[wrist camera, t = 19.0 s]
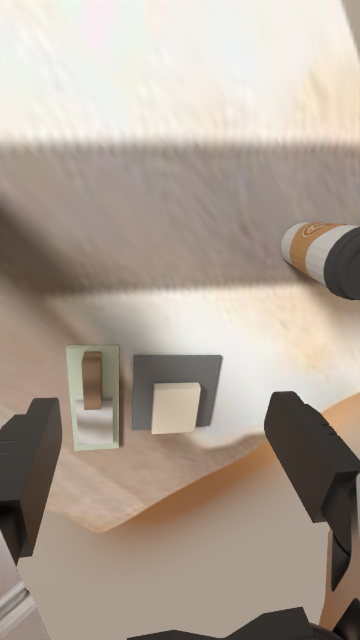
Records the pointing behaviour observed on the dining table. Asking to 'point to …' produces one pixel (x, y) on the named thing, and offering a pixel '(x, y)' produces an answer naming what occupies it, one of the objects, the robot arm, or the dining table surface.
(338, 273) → the coffee cup
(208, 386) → the mat
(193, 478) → the dining table surface
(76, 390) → the board
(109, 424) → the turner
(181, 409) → the tile
